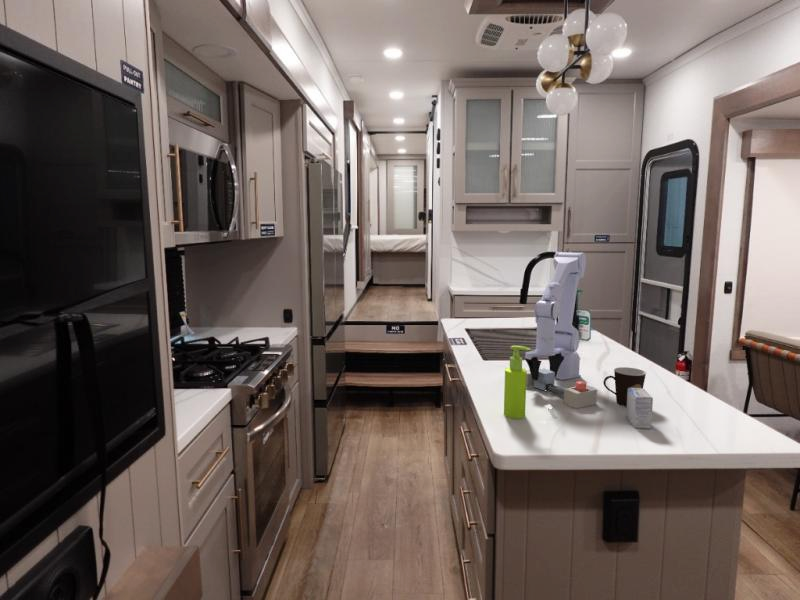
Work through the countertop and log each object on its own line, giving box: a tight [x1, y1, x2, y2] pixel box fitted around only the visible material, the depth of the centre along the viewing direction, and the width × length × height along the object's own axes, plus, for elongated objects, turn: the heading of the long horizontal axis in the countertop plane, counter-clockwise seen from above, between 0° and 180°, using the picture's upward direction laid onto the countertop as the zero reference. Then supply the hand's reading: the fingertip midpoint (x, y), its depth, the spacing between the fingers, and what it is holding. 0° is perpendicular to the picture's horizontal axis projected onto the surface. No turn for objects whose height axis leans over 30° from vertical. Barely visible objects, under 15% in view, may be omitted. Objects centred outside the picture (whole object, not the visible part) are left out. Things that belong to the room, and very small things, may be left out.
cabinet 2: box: [563, 385, 598, 409], centre depth 149 cm, size 8×5×4 cm, turn 115°
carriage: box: [532, 367, 556, 391], centre depth 164 cm, size 4×5×6 cm
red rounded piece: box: [575, 380, 587, 392], centre depth 149 cm, size 3×3×4 cm
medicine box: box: [625, 388, 654, 430], centre depth 134 cm, size 8×4×9 cm, turn 170°
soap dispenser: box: [503, 344, 532, 420], centre depth 139 cm, size 6×7×20 cm
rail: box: [545, 384, 565, 399], centre depth 159 cm, size 2×17×2 cm, turn 25°
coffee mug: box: [603, 366, 647, 407], centre depth 150 cm, size 12×9×10 cm
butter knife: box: [547, 407, 558, 419], centre depth 138 cm, size 1×24×3 cm
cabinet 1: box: [526, 369, 534, 388], centre depth 168 cm, size 8×3×6 cm, turn 115°
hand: (543, 378), depth 163 cm, fingers open, 7 cm apart
